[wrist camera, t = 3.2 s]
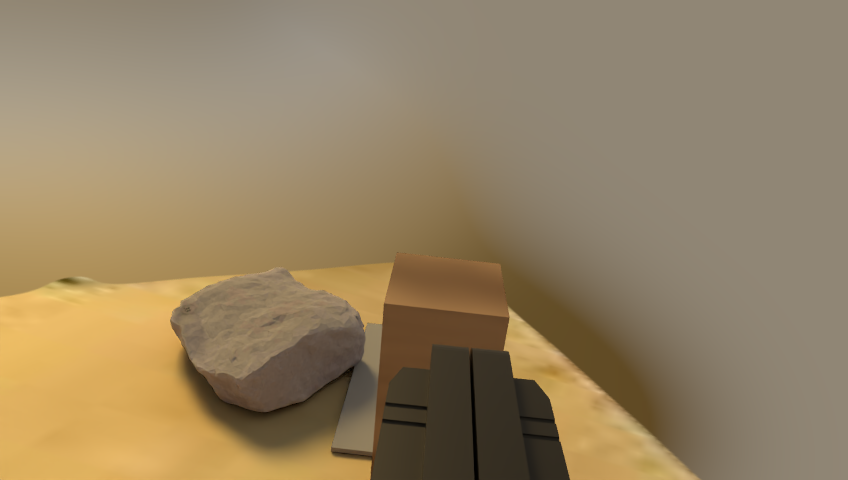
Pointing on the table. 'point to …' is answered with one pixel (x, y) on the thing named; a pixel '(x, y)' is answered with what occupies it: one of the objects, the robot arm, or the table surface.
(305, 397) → the stone block
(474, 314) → the walnut block
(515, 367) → the table surface
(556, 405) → the table surface
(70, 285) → the table surface
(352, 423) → the felt pad
